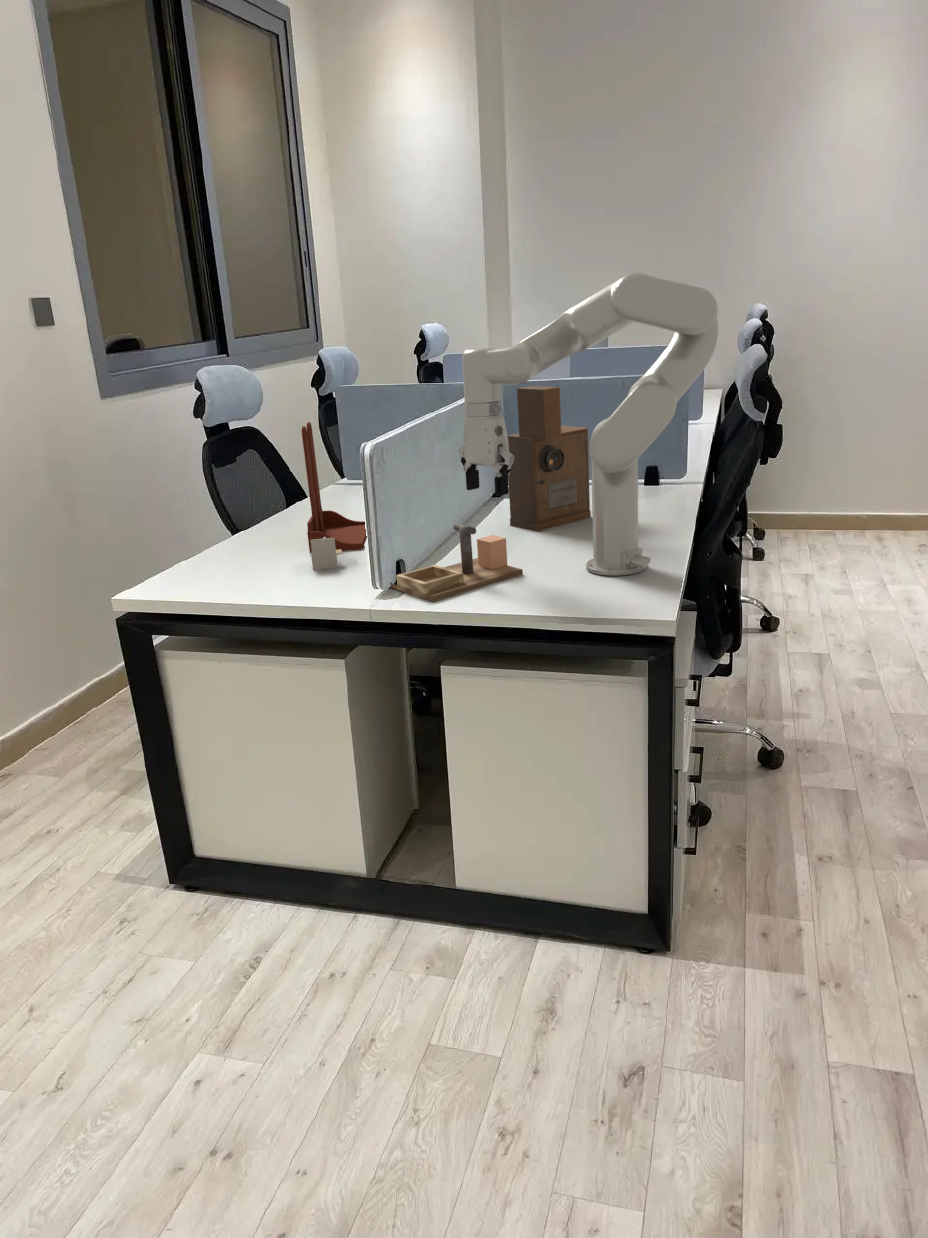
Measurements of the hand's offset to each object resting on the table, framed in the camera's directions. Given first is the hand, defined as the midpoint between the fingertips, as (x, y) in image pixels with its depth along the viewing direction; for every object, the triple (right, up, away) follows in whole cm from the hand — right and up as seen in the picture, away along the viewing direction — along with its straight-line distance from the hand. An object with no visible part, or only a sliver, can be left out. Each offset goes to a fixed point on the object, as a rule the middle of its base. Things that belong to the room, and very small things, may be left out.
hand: (487, 491), depth 198 cm
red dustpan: (-37, -7, +43) cm, 57 cm away
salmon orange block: (+1, -15, +5) cm, 16 cm away
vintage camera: (+18, -2, +44) cm, 48 cm away
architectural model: (-37, -16, +18) cm, 44 cm away
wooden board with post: (-6, -19, 0) cm, 20 cm away
